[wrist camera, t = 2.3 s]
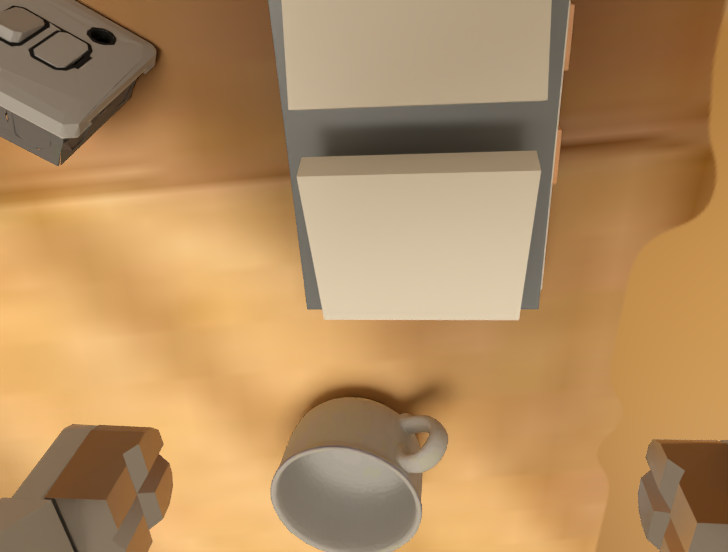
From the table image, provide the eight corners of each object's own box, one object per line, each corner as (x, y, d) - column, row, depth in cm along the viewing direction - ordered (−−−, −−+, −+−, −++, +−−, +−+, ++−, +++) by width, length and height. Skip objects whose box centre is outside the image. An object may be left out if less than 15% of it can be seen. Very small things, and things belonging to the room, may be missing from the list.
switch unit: (273, -153, 30) (235, -173, 24) (575, -179, 28) (613, -208, 22) (319, 270, 42) (302, 325, 36) (534, 268, 40) (552, 326, 34)
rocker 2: (301, 157, 29) (296, 176, 28) (536, 150, 28) (541, 170, 26) (327, 299, 36) (324, 319, 35) (515, 299, 35) (518, 320, 33)
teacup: (335, 488, 52) (321, 573, 46) (265, 403, 48) (238, 482, 41) (482, 439, 48) (491, 525, 41) (419, 340, 44) (417, 417, 37)
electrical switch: (165, 48, 35) (81, 99, 28) (141, 121, 38) (60, 185, 30) (10, -40, 34) (-124, -12, 26) (-3, 43, 36) (-126, 90, 29)
